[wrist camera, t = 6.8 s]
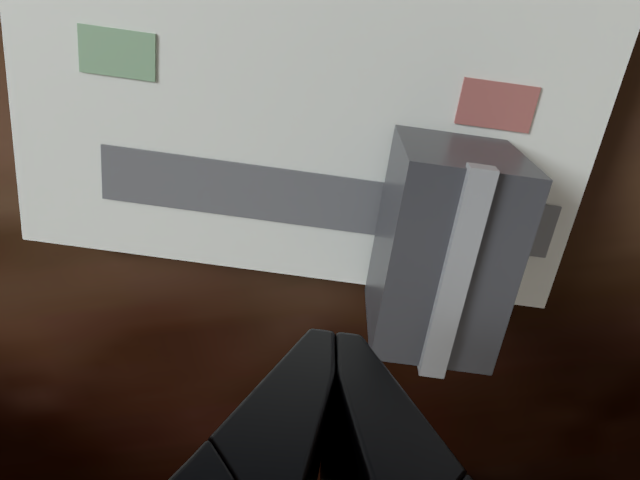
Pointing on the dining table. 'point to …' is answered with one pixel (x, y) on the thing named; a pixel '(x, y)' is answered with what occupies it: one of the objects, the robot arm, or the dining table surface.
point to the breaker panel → (292, 118)
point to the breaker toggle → (450, 249)
